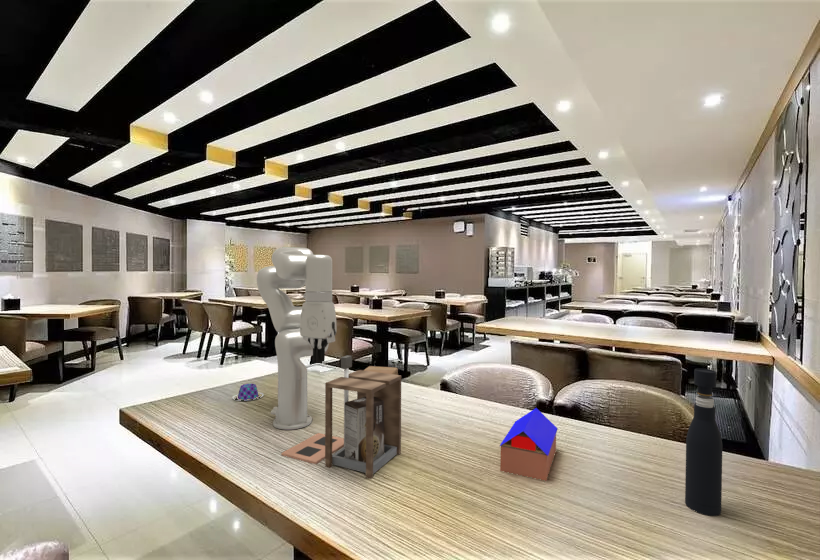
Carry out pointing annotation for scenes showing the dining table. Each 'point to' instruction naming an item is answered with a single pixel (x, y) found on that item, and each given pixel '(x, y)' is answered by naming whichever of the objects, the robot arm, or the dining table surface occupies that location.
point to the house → (529, 446)
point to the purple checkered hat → (248, 392)
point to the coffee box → (363, 429)
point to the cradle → (339, 455)
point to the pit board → (313, 448)
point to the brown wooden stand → (368, 409)
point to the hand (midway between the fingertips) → (318, 361)
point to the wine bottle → (704, 450)
